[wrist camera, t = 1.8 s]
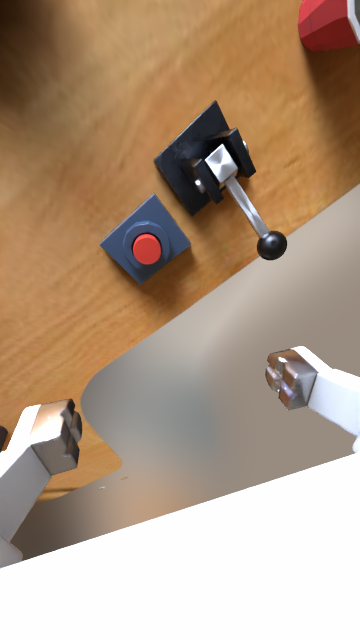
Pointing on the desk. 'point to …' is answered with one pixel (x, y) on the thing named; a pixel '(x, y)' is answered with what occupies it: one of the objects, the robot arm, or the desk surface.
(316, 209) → the desk surface
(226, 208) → the desk surface
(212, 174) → the lever
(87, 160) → the desk surface
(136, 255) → the button
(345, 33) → the plastic cup
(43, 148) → the desk surface
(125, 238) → the button box
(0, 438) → the coffee mug
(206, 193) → the black metal stand
